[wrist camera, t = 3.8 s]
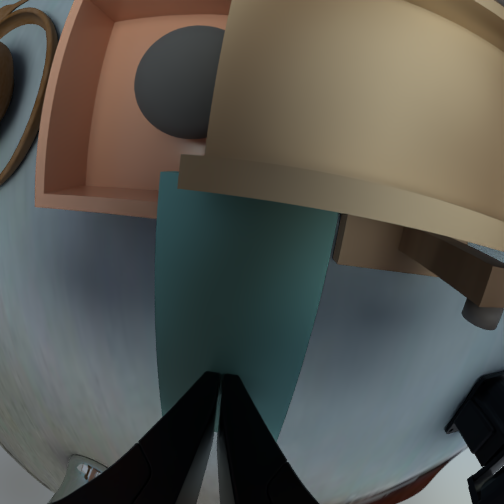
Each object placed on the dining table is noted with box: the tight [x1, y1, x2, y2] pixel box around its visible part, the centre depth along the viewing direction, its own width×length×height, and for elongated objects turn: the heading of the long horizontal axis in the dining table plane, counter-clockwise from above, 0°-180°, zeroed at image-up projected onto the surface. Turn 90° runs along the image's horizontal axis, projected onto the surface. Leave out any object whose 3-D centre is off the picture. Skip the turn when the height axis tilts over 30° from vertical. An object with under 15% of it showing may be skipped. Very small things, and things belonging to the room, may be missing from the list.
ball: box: [134, 25, 225, 139], centre depth 8 cm, size 4×4×4 cm
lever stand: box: [333, 0, 504, 330], centre depth 7 cm, size 7×12×7 cm, turn 172°
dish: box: [35, 0, 232, 219], centre depth 9 cm, size 9×9×4 cm
